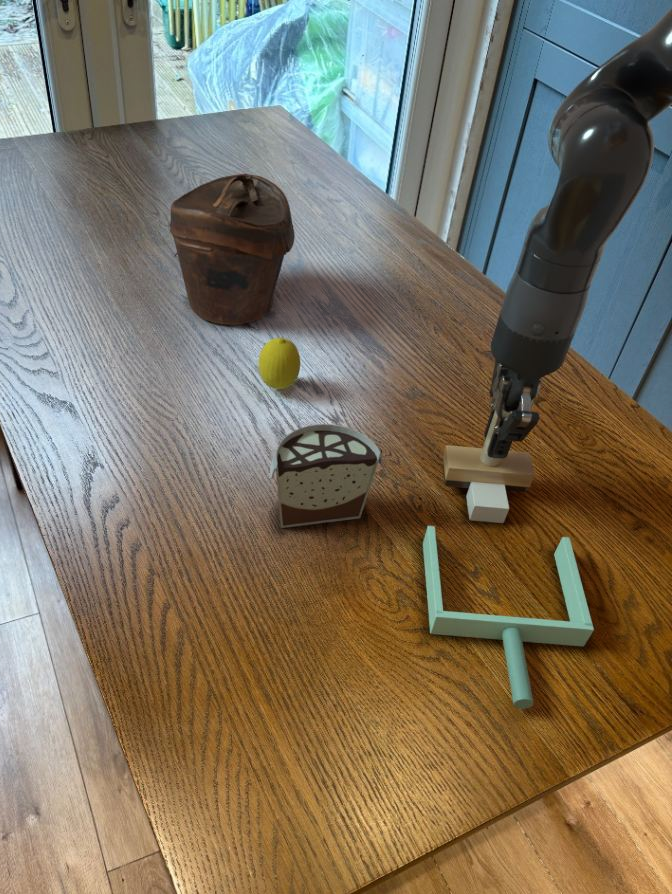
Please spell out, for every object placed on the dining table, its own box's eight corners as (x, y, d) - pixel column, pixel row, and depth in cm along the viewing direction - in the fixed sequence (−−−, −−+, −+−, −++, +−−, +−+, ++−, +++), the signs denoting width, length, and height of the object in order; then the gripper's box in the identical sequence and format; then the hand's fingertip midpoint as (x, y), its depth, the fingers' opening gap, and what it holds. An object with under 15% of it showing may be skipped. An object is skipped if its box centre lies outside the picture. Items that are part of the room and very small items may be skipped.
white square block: (466, 496, 90) (470, 481, 88) (499, 498, 90) (504, 484, 88) (469, 520, 87) (474, 505, 85) (503, 523, 87) (509, 508, 85)
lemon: (285, 406, 100) (289, 356, 94) (250, 391, 101) (251, 341, 95) (305, 385, 103) (310, 335, 97) (270, 371, 105) (273, 321, 99)
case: (267, 264, 125) (271, 153, 112) (306, 330, 112) (316, 213, 99) (161, 276, 121) (153, 162, 108) (189, 346, 108) (183, 226, 95)
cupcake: (357, 479, 91) (369, 415, 83) (372, 516, 87) (385, 452, 79) (257, 491, 88) (260, 426, 81) (268, 529, 84) (271, 464, 77)
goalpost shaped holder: (422, 543, 84) (427, 525, 82) (560, 554, 84) (569, 537, 82) (436, 705, 70) (442, 688, 68) (601, 718, 70) (613, 703, 68)
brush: (440, 464, 92) (459, 398, 84) (522, 471, 92) (547, 405, 84) (443, 487, 89) (462, 421, 82) (527, 494, 89) (554, 428, 82)
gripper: (592, 360, 69) (536, 492, 82) (564, 283, 79) (518, 412, 91) (511, 353, 69) (468, 486, 82) (493, 277, 79) (456, 406, 91)
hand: (494, 446), depth 87 cm, fingers closed on brush, 2 cm apart
